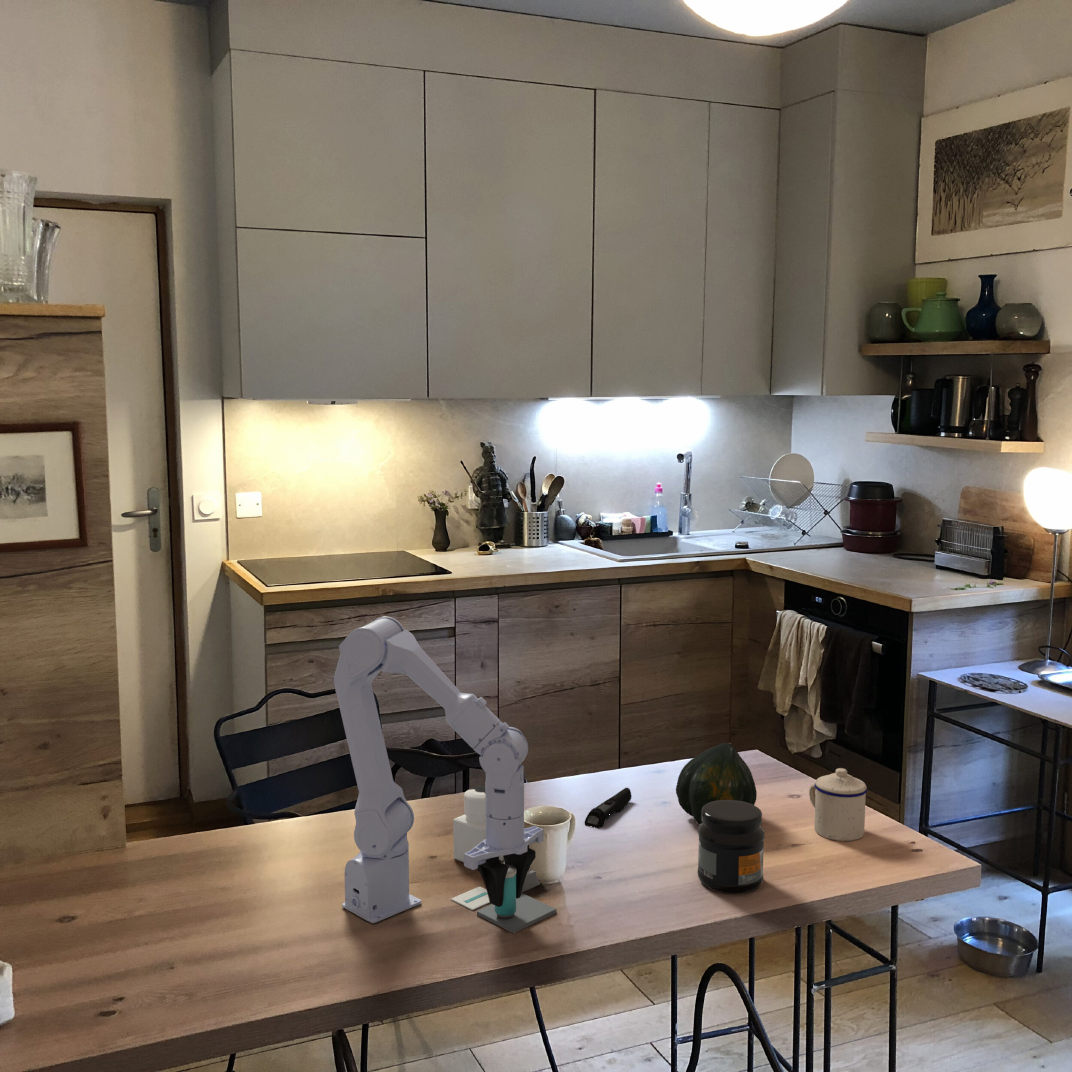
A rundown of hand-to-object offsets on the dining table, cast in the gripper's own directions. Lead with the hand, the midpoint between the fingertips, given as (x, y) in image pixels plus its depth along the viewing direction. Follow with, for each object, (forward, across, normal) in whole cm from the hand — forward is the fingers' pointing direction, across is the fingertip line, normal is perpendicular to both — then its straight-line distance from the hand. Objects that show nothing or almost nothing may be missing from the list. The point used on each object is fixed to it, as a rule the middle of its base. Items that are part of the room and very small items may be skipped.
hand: (505, 900), depth 161 cm
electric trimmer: (+4, +43, +16) cm, 46 cm away
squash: (+3, +54, 0) cm, 55 cm away
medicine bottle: (+3, +12, +18) cm, 22 cm away
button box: (+3, +9, +8) cm, 12 cm away
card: (+3, +1, +8) cm, 9 cm away
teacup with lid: (+3, +66, -18) cm, 68 cm away
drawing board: (+3, +2, 0) cm, 4 cm away
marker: (+2, 0, 0) cm, 2 cm away
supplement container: (+3, +34, -16) cm, 38 cm away
